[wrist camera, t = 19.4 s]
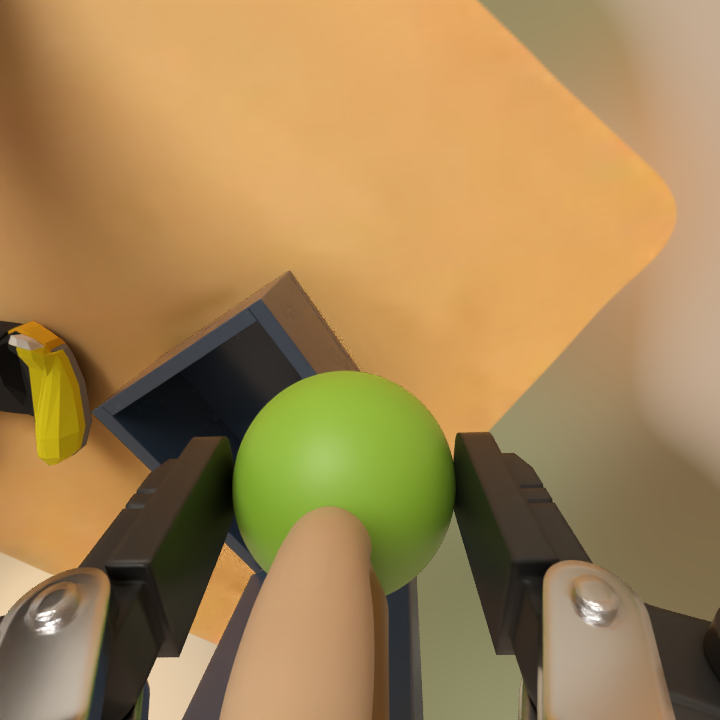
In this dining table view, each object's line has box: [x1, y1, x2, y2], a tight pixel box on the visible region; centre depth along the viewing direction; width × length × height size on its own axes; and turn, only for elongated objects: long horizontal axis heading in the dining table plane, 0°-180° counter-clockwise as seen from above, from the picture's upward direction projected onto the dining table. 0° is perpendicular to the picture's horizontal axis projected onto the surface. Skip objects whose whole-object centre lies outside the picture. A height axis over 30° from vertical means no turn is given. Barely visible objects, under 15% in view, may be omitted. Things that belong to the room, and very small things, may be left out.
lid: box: [182, 570, 423, 720], centre depth 19 cm, size 17×13×5 cm
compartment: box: [92, 271, 360, 573], centre depth 29 cm, size 16×13×9 cm
